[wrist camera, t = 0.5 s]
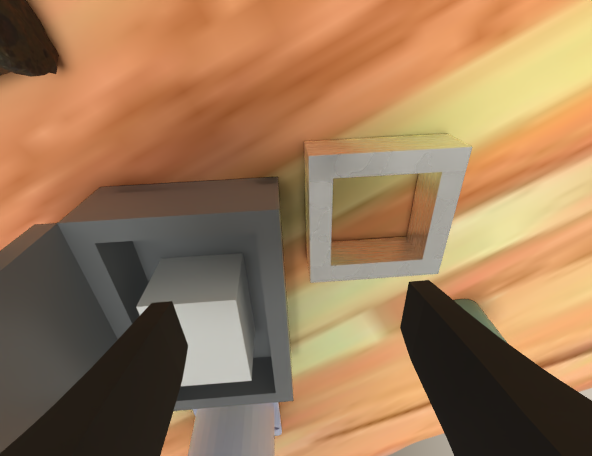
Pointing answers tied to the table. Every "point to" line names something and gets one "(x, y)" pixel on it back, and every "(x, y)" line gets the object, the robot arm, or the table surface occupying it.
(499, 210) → the table surface
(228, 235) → the case
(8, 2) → the hand tool
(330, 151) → the white square frame
